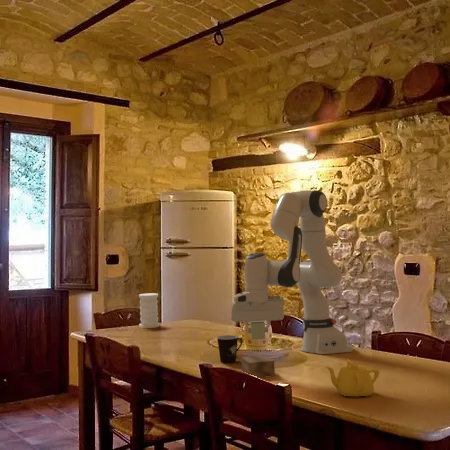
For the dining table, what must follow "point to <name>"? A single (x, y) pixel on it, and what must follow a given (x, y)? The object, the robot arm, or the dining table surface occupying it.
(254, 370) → the walnut box
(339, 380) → the teapot
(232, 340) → the coffee mug
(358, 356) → the dining table surface
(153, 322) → the decorative container
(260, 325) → the green cube
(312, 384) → the dining table surface
